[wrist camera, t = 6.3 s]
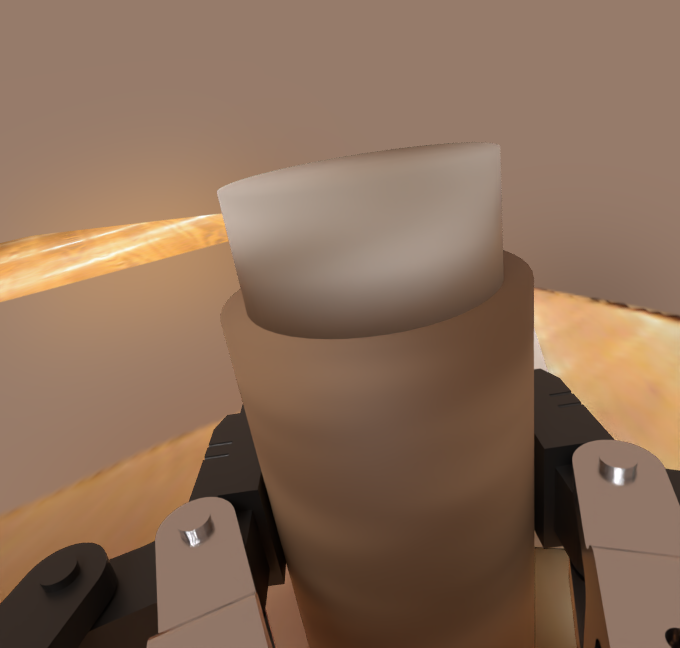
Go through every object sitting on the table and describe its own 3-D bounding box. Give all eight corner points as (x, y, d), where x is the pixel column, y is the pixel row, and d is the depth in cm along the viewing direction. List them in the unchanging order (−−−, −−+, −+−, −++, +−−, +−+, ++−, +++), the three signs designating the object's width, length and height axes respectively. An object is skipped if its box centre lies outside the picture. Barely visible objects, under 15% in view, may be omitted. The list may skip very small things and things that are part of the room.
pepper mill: (311, 813, 11) (111, 223, 6) (352, 606, 15) (259, 166, 10) (551, 862, 9) (567, 164, 4) (521, 622, 14) (513, 129, 9)
